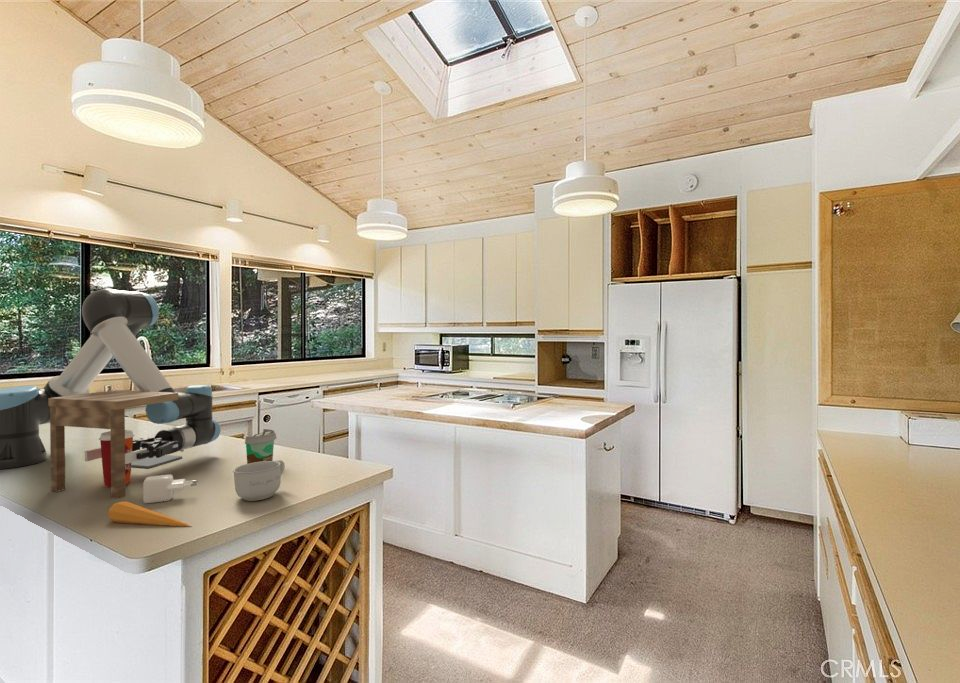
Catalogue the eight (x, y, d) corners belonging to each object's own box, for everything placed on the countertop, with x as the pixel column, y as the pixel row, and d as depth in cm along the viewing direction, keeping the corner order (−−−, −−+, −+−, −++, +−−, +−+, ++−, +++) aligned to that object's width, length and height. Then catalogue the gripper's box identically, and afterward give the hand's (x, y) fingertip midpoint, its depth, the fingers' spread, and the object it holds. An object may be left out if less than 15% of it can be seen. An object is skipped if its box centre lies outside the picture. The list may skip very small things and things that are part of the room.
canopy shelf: (49, 491, 124) (48, 398, 123) (117, 471, 141) (116, 390, 141) (117, 498, 119) (116, 401, 118) (178, 477, 136) (178, 392, 136)
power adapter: (198, 493, 123) (198, 470, 123) (196, 499, 119) (196, 475, 119) (146, 499, 118) (146, 475, 118) (142, 505, 114) (141, 481, 114)
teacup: (250, 508, 113) (250, 474, 113) (224, 499, 119) (223, 467, 118) (300, 491, 125) (300, 460, 125) (274, 484, 130) (274, 455, 130)
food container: (265, 470, 143) (265, 437, 143) (244, 470, 143) (244, 437, 143) (283, 459, 155) (283, 428, 155) (264, 459, 155) (264, 428, 155)
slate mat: (117, 465, 147) (117, 463, 147) (152, 455, 159) (152, 453, 159) (148, 468, 145) (148, 466, 145) (182, 458, 156) (182, 456, 156)
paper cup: (137, 483, 130) (137, 432, 130) (102, 490, 124) (101, 436, 124) (131, 477, 135) (130, 428, 135) (96, 483, 130) (96, 432, 129)
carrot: (107, 525, 104) (101, 509, 102) (125, 511, 108) (120, 495, 106) (187, 542, 101) (182, 526, 99) (202, 527, 105) (198, 511, 103)
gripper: (207, 454, 145) (141, 475, 124) (142, 449, 150) (69, 468, 129) (207, 429, 145) (141, 446, 123) (142, 425, 150) (68, 441, 129)
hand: (104, 457), depth 126 cm, fingers open, 12 cm apart
